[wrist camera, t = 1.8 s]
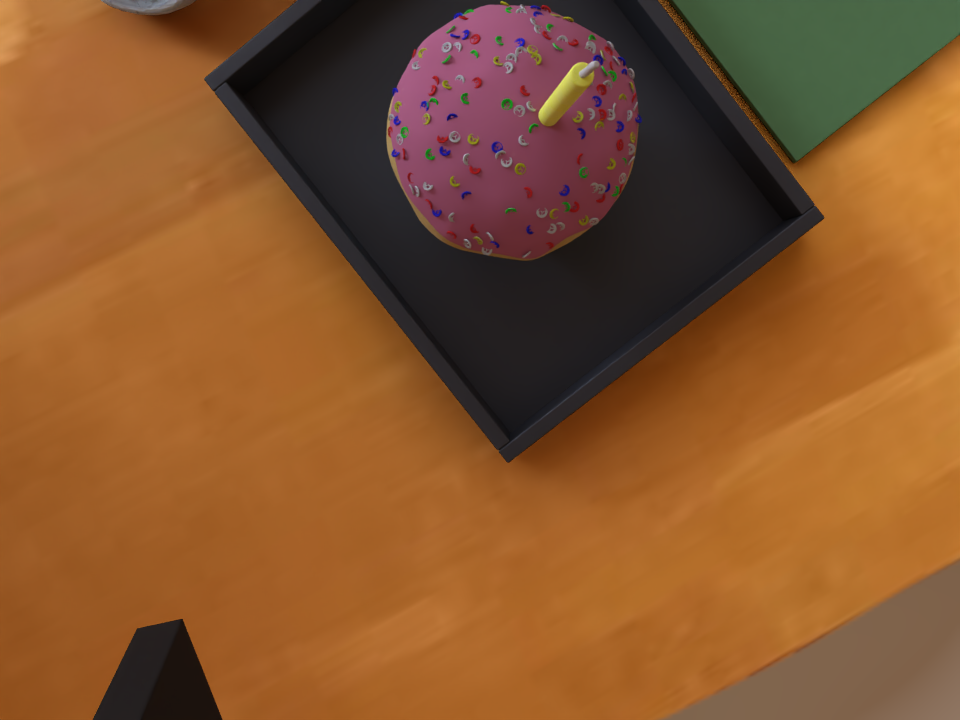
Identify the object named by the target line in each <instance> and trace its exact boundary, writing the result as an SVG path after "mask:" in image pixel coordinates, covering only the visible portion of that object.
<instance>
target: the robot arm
mask: <svg viewBox="0 0 960 720" xmlns="http://www.w3.org/2000/svg"><path fill="white" fill-rule="evenodd" d="M93 720H222V717H221V715H220V712H219V710H218V707H217V705H216V702H215V700H214V697H213V695H212V692H211V690H210V687H209V685H208V682H207V680H206V677H205V675H204V672H203V669H202V667H201V664H200V662H199V659H198V657H197V654H196V652H195V649H194V647H193V644H192V642H191V639H190V637H189V634H188V632H187V629H186V627H185V624H184V622H183V619H180V620H175V621H170V622H165V623H161V624H156V625H151V626H147V627H142V628H137V630H136V632H135V634H134V636H133V638H132V640H131V642H130V644H129V646H128V648H127V650H126V652H125V654H124V656H123V659H122V661H121V663H120V665H119V667H118V669H117V671H116V673H115V675H114V677H113V679H112V681H111V683H110V685H109V687H108V689H107V691H106V693H105V695H104V698H103V700H102V702H101V704H100V706H99V708H98V710H97V712H96V714H95V716H94V718H93Z"/></svg>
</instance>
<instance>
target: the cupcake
mask: <svg viewBox="0 0 960 720" xmlns="http://www.w3.org/2000/svg"><path fill="white" fill-rule="evenodd" d="M500 4H501V5H486V6H482V7H479V8H476V9H474V10H472V9H469V10H467V11H466V12H465V13H464V14H462V13H457V14H456V15H455V16H454V20H452V21H450V22H449V23H447V24H446V25H444V26H443V27H441V28H440V29H438V30H437V31H435V32H434V33H432V34H431V35H430V36H428V37H427V38H426V39H425V40H424V41H423V42H422V43H421V45H420V46H419V47H418V49H417V50H416V49H414V51H413V54H412V59H411V61H410V62H409V64H408V66H407V68H406V70H405V72H404V73H403V75H402V77H401V79H400V81H399V83H398V85H397V88H393V98H392V100H391V104H390V108H389V112H388V119H387V135H386V138H387V150H388V155H389V159H390V163H391V166H392V168H393V171H394V173H395V175H396V178H397V180H398V182H399V184H400V186H401V188H402V189H403V191H404V193H405V195H406V197H407V199H408V200H409V202H410V204H411V206H412V208H413V210H414V211H415V213H416V215H417V217H418V219H419V220H420V221H421V223H422V224H423V225H424V226H425V227H426V228H427V229H428V230H429V231H430V232H431V233H432V234H433V235H434V236H435V237H437V238H438V239H439V240H441V241H442V242H444V243H446V244H447V245H450V246H452V247H454V248H457V249H460V250H464V251H468V252H473V253H478V254H483V255H488V256H494V257H500V258H506V259H513V260H522V261H529V260H534V259H538V258H540V257H542V256H544V255H546V254H548V253H550V252H552V251H554V250H556V249H558V248H560V247H562V246H564V245H566V244H568V243H569V242H571V241H573V240H574V239H576V238H577V237H579V236H580V235H581V234H583V233H584V232H586V231H587V230H588V229H590V228H591V227H592V226H593V225H596V224H597V223H598V222H599V221H600V220H601V219H602V218H603V217H604V216H605V215H606V214H607V212H608V211H609V210H610V208H611V207H612V205H613V204H614V203H615V201H616V200H617V199H618V197H619V196H620V194H621V192H622V191H623V189H624V187H625V185H626V183H627V181H628V178H629V175H630V173H631V170H632V166H633V162H634V158H635V153H636V146H637V138H638V126H639V123H641V122H642V118H641V116H640V115H639V113H638V102H637V95H636V89H635V85H634V81H633V79H634V77H635V74H634V71H633V70H632V69H631V68H629V69H628V68H627V67H626V61H625V59H624V58H622V57H620V56H619V54H618V53H617V51H616V50H615V49H614V46H613V44H612V43H611V42H609V41H606V40H605V39H603V38H602V37H600V36H598V35H596V34H595V33H593V32H591V31H590V30H588V29H586V28H584V27H582V26H581V25H579V24H577V23H575V22H573V19H572V18H570V17H563V16H561V15H559V14H556V13H554V12H552V11H551V10H550V8H549V7H548V6H546V5H542V6H541V7H538V6H524V5H522V4H521V5H520V6H515V5H509V4H507V3H506V2H503V1H501V2H500ZM545 8H547V9H545ZM458 15H460V16H459V17H458ZM456 17H457V18H456ZM569 19H570V20H569ZM631 72H632V74H631ZM395 90H396V91H395ZM639 119H640V120H639Z"/></svg>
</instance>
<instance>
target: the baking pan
mask: <svg viewBox="0 0 960 720" xmlns="http://www.w3.org/2000/svg"><path fill="white" fill-rule="evenodd" d="M501 1H503V2H506V3H507V4H509V5H515V6H520V5H521V4H522V5H524V6H538V7H541V6H542V5H546V6H548V7H549V8H550V10H551V11H552V12H554V13H556V14H559V15H561V16H563V17H570V18H572V19H573V22H575V23H577V24H579V25H581V26H582V27H584V28H586V29H588V30H590V31H591V32H593V33H595V34H596V35H598V36H600V37H602V38H603V39H605V40H606V41H609V42H611V43H612V44H613V46H614V49H615V50H616V51H617V53H618V54H619V56H620V57H622V58H624V59H625V61H626V67H627V68H628V69H629V68H631V69H632V70H633V71H634V74H635V77H634V79H633V81H634V85H635V89H636V95H637V102H638V113H639V115H640V116H641V118H642V122H641V123H639V126H638V138H637V146H636V153H635V158H634V162H633V166H632V170H631V173H630V175H629V178H628V181H627V183H626V185H625V187H624V189H623V191H622V192H621V194H620V196H619V197H618V199H617V200H616V201H615V203H614V204H613V205H612V207H611V208H610V210H609V211H608V212H607V214H606V215H605V216H604V217H603V218H602V219H601V220H600V221H599V222H598V223H597V224H596V225H593V226H592V227H591V228H590V229H588V230H587V231H586V232H584V233H583V234H581V235H580V236H579V237H577V238H576V239H574V240H573V241H571V242H569V243H568V244H566V245H564V246H562V247H560V248H558V249H556V250H554V251H552V252H550V253H548V254H546V255H544V256H542V257H540V258H538V259H534V260H529V261H522V260H513V259H506V258H500V257H494V256H488V255H483V254H478V253H473V252H468V251H464V250H460V249H457V248H454V247H452V246H450V245H447V244H446V243H444V242H442V241H441V240H439V239H438V238H437V237H435V236H434V235H433V234H432V233H431V232H430V231H429V230H428V229H427V228H426V227H425V226H424V225H423V224H422V223H421V221H420V220H419V219H418V217H417V215H416V213H415V211H414V210H413V208H412V206H411V204H410V202H409V200H408V199H407V197H406V195H405V193H404V191H403V189H402V188H401V186H400V184H399V182H398V180H397V178H396V175H395V173H394V171H393V168H392V166H391V163H390V159H389V155H388V150H387V138H386V135H387V119H388V112H389V108H390V104H391V100H392V98H393V88H397V85H398V83H399V81H400V79H401V77H402V75H403V73H404V72H405V70H406V68H407V66H408V64H409V62H410V61H411V59H412V54H413V51H414V49H416V50H417V49H418V47H419V46H420V45H421V43H422V42H423V41H424V40H425V39H426V38H427V37H428V36H430V35H431V34H432V33H434V32H435V31H437V30H438V29H440V28H441V27H443V26H444V25H446V24H447V23H449V22H450V21H452V20H454V16H455V15H456V14H457V13H462V14H464V13H465V12H466V11H467V10H469V9H472V10H474V9H476V8H479V7H482V6H486V5H501V4H500V2H501ZM545 9H547V8H545ZM459 16H460V15H458V17H459ZM456 18H457V17H456ZM569 20H570V19H569ZM631 74H632V72H631ZM204 80H205V81H206V83H207V84H208V85H209V86H210V88H211V89H212V90H213V91H214V92H215V94H216V95H217V96H218V98H219V99H220V100H221V102H222V103H223V104H224V105H225V107H226V108H227V109H228V110H229V112H230V113H231V114H232V115H233V117H234V118H235V119H236V120H237V122H238V123H239V124H240V126H241V127H242V128H243V129H244V131H245V132H246V133H247V134H248V136H249V137H250V138H251V139H252V141H253V142H254V143H255V145H256V146H257V147H258V148H259V150H260V151H261V152H262V153H263V155H264V156H265V157H266V158H267V160H268V161H269V162H270V163H271V165H272V166H273V167H274V169H275V170H276V171H277V172H278V174H279V175H280V176H281V177H282V179H283V180H284V181H285V182H286V184H287V185H288V186H289V187H290V189H291V190H292V191H293V193H294V194H295V195H296V196H297V198H298V199H299V200H300V201H301V203H302V204H303V205H304V206H305V208H306V209H307V210H308V211H309V213H310V214H311V215H312V217H313V218H314V219H315V220H316V222H317V223H318V224H319V225H320V227H321V228H322V229H323V230H324V232H325V233H326V234H327V236H328V237H329V238H330V239H331V241H332V242H333V243H334V244H335V246H336V247H337V248H338V249H339V251H340V252H341V253H342V254H343V256H344V257H345V258H346V260H347V261H348V262H349V263H350V265H351V266H352V267H353V268H354V270H355V271H356V272H357V273H358V275H359V276H360V277H361V278H362V280H363V281H364V282H365V284H366V285H367V286H368V287H369V289H370V290H371V291H372V292H373V294H374V295H375V296H376V297H377V299H378V300H379V301H380V302H381V304H382V305H383V306H384V308H385V309H386V310H387V311H388V313H389V314H390V315H391V316H392V318H393V319H394V320H395V321H396V323H397V324H398V325H399V327H400V328H401V329H402V330H403V332H404V333H405V334H406V335H407V337H408V338H409V339H410V340H411V342H412V343H413V344H414V345H415V347H416V348H417V349H418V351H419V352H420V353H421V354H422V356H423V357H424V358H425V359H426V361H427V362H428V363H429V364H430V366H431V367H432V368H433V369H434V371H435V372H436V373H437V375H438V376H439V377H440V378H441V380H442V381H443V382H444V383H445V385H446V386H447V387H448V388H449V390H450V391H451V392H452V393H453V395H454V396H455V397H456V399H457V400H458V401H459V402H460V404H461V405H462V406H463V407H464V409H465V410H466V411H467V412H468V414H469V415H470V416H471V418H472V419H473V420H474V421H475V423H476V424H477V425H478V426H479V428H480V429H481V430H482V431H483V433H484V434H485V435H486V436H487V438H488V439H489V440H490V442H491V443H492V444H493V445H494V447H495V448H496V449H497V450H499V453H500V454H501V455H502V457H503V458H504V459H505V460H506V462H510V461H511V460H513V459H514V458H515V457H517V456H518V455H519V454H521V453H522V452H523V451H524V450H526V449H527V448H528V447H530V446H531V445H532V444H533V443H535V442H536V441H537V440H539V439H540V438H541V437H543V436H544V435H545V434H546V433H548V432H549V431H550V430H552V429H553V428H554V427H555V426H557V425H558V424H559V423H561V422H562V421H563V420H565V419H566V418H567V417H568V416H570V415H571V414H572V413H574V412H575V411H576V410H577V409H579V408H580V407H581V406H583V405H584V404H585V403H586V402H588V401H589V400H590V399H592V398H593V397H594V396H596V395H597V394H598V393H599V392H601V391H602V390H603V389H605V388H606V387H607V386H608V385H610V384H611V383H612V382H614V381H615V380H616V379H618V378H619V377H620V376H621V375H623V374H624V373H625V372H627V371H628V370H629V369H630V368H632V367H633V366H634V365H636V364H637V363H638V362H639V361H641V360H642V359H643V358H645V357H646V356H647V355H649V354H650V353H651V352H652V351H654V350H655V349H656V348H658V347H659V346H660V345H661V344H663V343H664V342H665V341H667V340H668V339H669V338H671V337H672V336H673V335H674V334H676V333H677V332H678V331H680V330H681V329H682V328H683V327H685V326H686V325H687V324H689V323H690V322H691V321H692V320H694V319H695V318H696V317H698V316H699V315H700V314H702V313H703V312H704V311H705V310H707V309H708V308H709V307H711V306H712V305H713V304H714V303H716V302H717V301H718V300H720V299H721V298H722V297H724V296H725V295H726V294H727V293H729V292H730V291H731V290H733V289H734V288H735V287H736V286H738V285H739V284H740V283H742V282H743V281H744V280H745V279H747V278H748V277H749V276H751V275H752V274H753V273H755V272H756V271H757V270H758V269H760V268H761V267H762V266H764V265H765V264H766V263H767V262H769V261H770V260H771V259H773V258H774V257H775V256H777V255H778V254H779V253H780V252H782V251H783V250H784V249H786V248H787V247H788V246H789V245H791V244H792V243H793V242H795V241H796V240H797V239H799V238H800V237H801V236H802V235H804V234H805V233H806V232H808V231H809V230H810V229H811V228H813V227H814V226H815V225H817V224H818V223H819V222H820V221H822V220H823V219H824V216H823V215H822V213H821V212H820V211H819V210H818V208H817V207H816V206H814V205H815V204H814V203H813V201H812V200H811V199H810V198H809V196H808V195H807V194H806V192H805V191H804V190H803V188H802V187H801V186H800V185H799V183H798V182H797V181H796V179H795V178H794V177H793V175H792V174H791V173H790V172H789V170H788V169H787V168H786V166H785V165H784V164H783V162H782V161H781V160H780V159H779V157H778V156H777V155H776V153H775V152H774V151H773V149H772V148H771V147H770V146H769V144H768V143H767V142H766V140H765V139H764V138H763V136H762V135H761V134H760V133H759V131H758V130H757V129H756V127H755V126H754V125H753V123H752V122H751V121H750V120H749V118H748V117H747V116H746V114H745V113H744V112H743V110H742V109H741V108H740V107H739V105H738V104H737V103H736V101H735V100H734V99H733V97H732V96H731V95H730V94H729V92H728V91H727V90H726V88H725V87H724V86H723V84H722V83H721V82H720V81H719V79H718V78H717V77H716V75H715V74H714V73H713V71H712V70H711V69H710V68H709V66H708V65H707V64H706V62H705V61H704V60H703V59H702V57H701V56H700V55H699V53H698V52H697V51H696V49H695V48H694V47H693V46H692V44H691V43H690V42H689V40H688V39H687V38H686V36H685V35H684V34H683V33H682V31H681V30H680V29H679V27H678V26H677V25H676V23H675V22H674V21H673V20H672V18H671V17H670V16H669V14H668V13H667V12H666V10H665V9H664V8H663V7H662V5H661V4H660V3H659V1H658V0H297V1H296V2H295V3H294V4H292V5H291V6H290V7H289V8H288V9H286V10H285V11H284V12H283V13H282V14H281V15H279V16H278V17H277V18H276V19H275V20H273V21H272V22H271V23H270V24H269V25H267V26H266V27H265V28H264V29H263V30H261V31H260V32H259V33H258V34H257V35H255V36H254V37H253V38H252V39H251V40H249V41H248V42H247V43H246V44H245V45H243V46H242V47H241V48H240V49H239V50H238V51H236V52H235V53H234V54H233V55H232V56H230V57H229V58H228V59H227V60H226V61H224V62H223V63H222V64H221V65H220V66H218V67H217V68H216V69H215V70H214V71H212V72H211V73H210V74H209V75H208V76H206V77H205V78H204ZM395 91H396V90H395ZM639 120H640V119H639Z"/></svg>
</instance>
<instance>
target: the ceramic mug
mask: <svg viewBox="0 0 960 720" xmlns="http://www.w3.org/2000/svg"><path fill="white" fill-rule="evenodd" d="M101 1H103V2H104V3H105V4H107V5H109V6H111V7H113V8H117V9H119V10H121V11H125V12H130V13H134V14H140V15H160V14H168V13H171V12H174V11H176V10H179V9H182V8H184V7H186V6H188V5H190V4H192V3H193V2H195V1H196V0H101Z"/></svg>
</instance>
